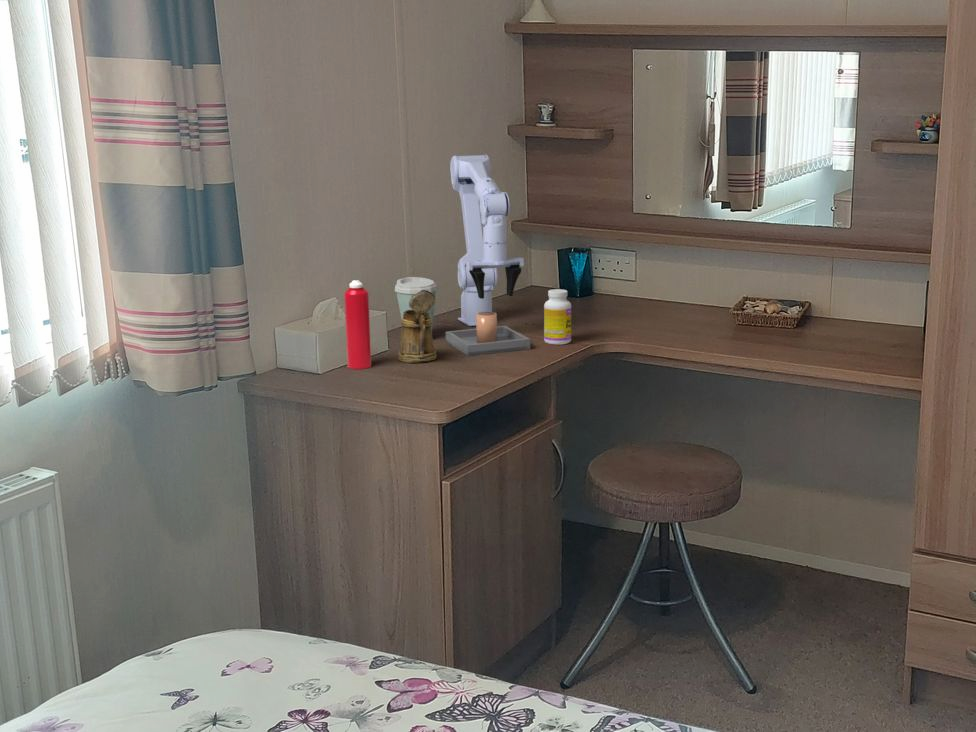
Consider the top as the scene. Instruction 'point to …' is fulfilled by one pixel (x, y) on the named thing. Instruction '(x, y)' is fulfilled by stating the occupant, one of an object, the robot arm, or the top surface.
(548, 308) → the supplement bottle
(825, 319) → the top surface
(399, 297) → the disposable coffee cup
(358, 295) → the bottle
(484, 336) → the terracotta cup
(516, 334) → the gray tray
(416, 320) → the wooden mug
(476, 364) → the top surface
